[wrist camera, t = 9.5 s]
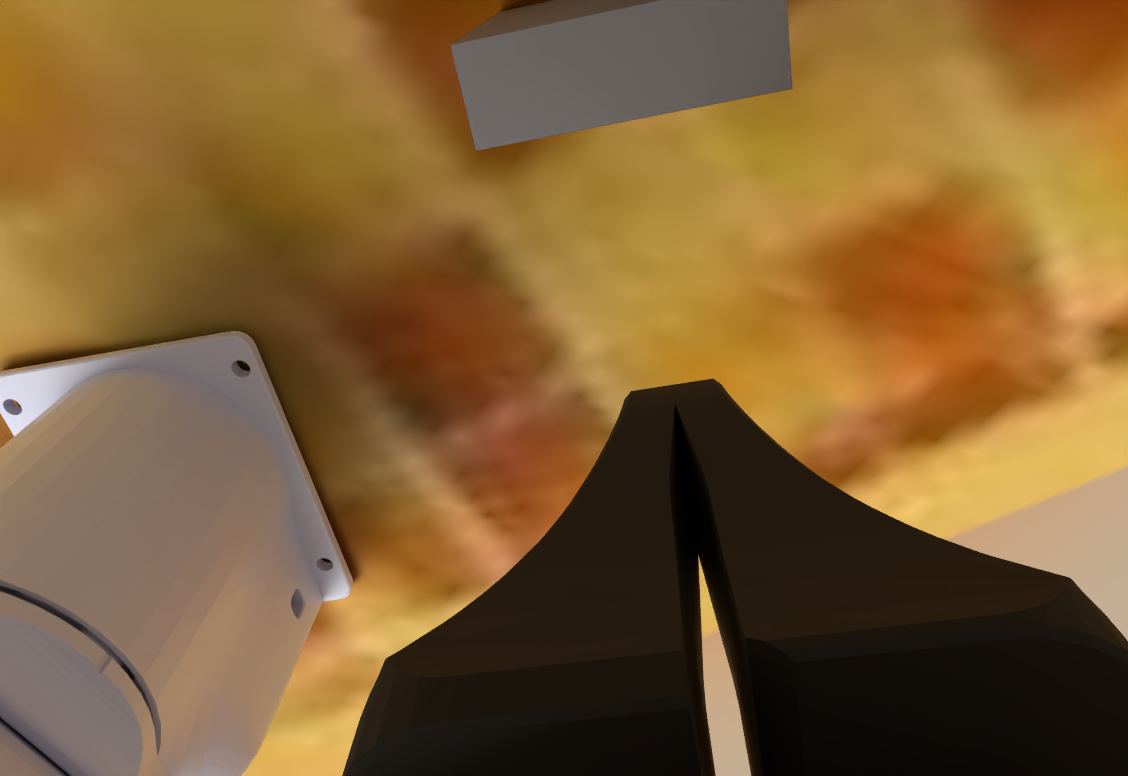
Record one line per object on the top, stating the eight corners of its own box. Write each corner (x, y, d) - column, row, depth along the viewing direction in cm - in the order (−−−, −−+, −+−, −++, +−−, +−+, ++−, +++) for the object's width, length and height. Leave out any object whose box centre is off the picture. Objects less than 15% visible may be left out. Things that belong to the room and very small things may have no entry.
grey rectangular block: (729, 41, 19) (792, 89, 13) (515, 84, 19) (475, 150, 13) (722, -37, 18) (785, -26, 12) (499, 11, 19) (449, 44, 12)
